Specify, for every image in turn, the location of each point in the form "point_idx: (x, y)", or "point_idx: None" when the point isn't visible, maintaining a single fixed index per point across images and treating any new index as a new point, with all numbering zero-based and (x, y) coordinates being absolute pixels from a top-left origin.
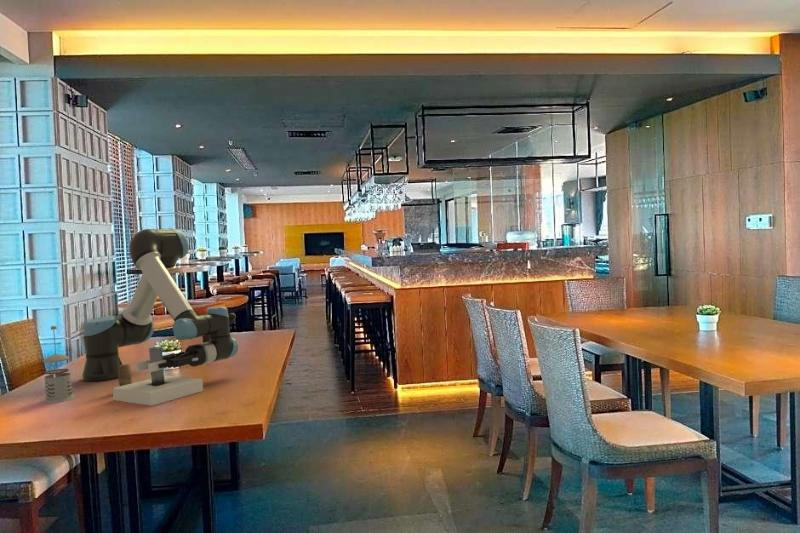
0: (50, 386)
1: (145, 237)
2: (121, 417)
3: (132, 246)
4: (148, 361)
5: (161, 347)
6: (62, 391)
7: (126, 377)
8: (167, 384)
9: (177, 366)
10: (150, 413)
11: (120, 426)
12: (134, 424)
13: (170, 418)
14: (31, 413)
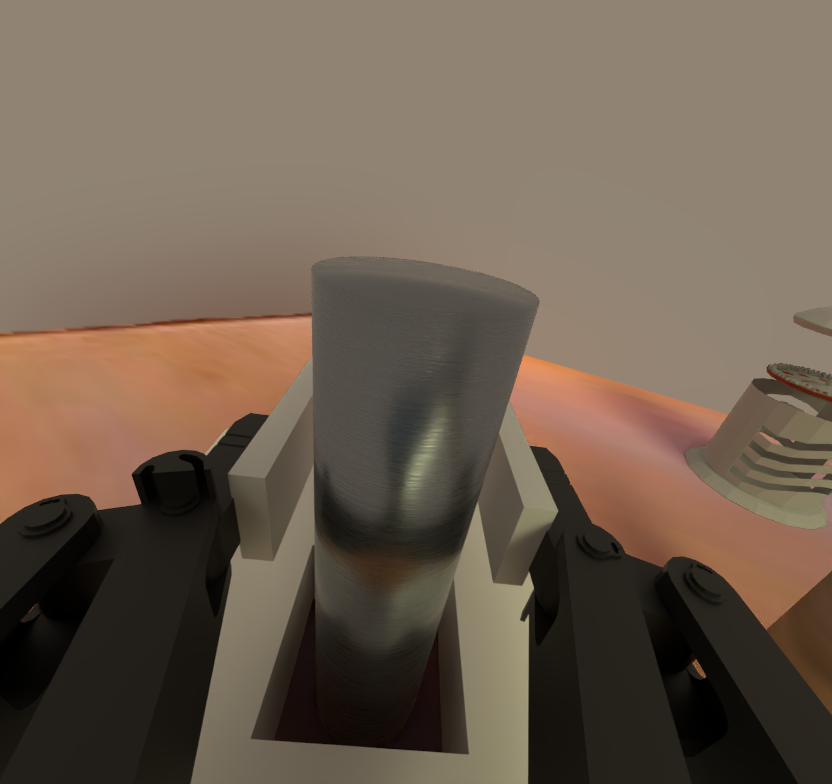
0: (817, 444)
1: None
2: (265, 384)
3: None
4: (498, 450)
5: (329, 281)
6: (723, 442)
7: (801, 628)
8: (240, 624)
9: (25, 631)
10: (172, 414)
11: (208, 349)
12: (171, 356)
13: (43, 389)
14: (572, 388)
